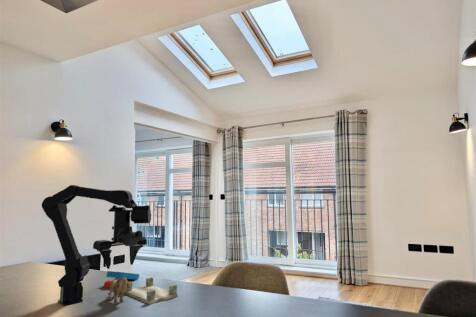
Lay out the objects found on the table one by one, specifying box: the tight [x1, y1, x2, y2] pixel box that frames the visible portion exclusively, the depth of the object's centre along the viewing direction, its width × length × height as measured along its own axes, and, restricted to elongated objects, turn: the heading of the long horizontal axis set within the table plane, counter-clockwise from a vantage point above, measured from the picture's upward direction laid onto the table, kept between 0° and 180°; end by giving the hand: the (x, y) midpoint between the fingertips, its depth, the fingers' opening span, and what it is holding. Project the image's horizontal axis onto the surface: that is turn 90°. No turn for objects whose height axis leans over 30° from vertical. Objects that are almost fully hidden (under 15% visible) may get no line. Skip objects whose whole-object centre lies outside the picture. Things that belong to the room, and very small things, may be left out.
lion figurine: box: [107, 278, 131, 305], centre depth 117 cm, size 15×5×9 cm, turn 45°
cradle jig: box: [123, 276, 178, 305], centre depth 124 cm, size 12×19×4 cm, turn 47°
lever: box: [103, 270, 140, 290], centre depth 140 cm, size 7×7×18 cm
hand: (120, 266), depth 118 cm, fingers open, 9 cm apart
